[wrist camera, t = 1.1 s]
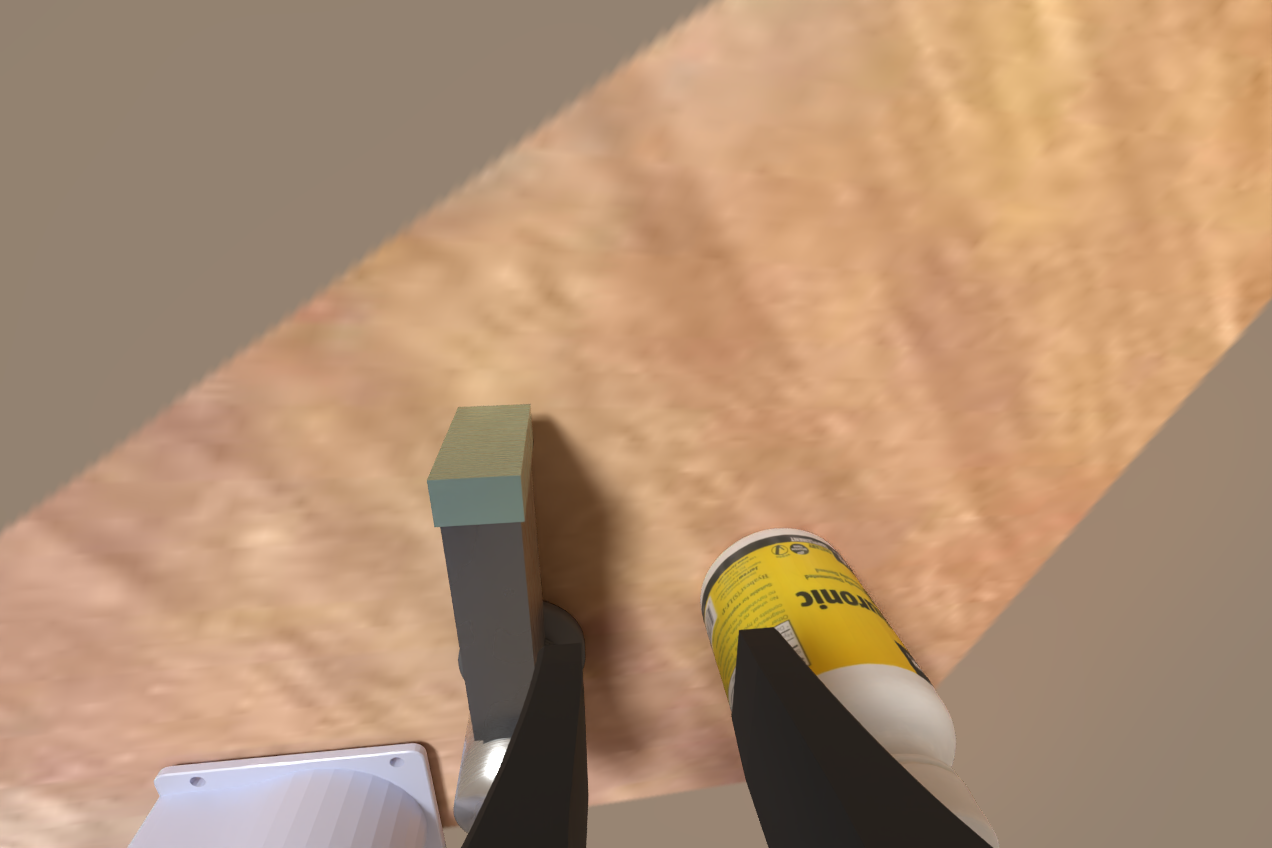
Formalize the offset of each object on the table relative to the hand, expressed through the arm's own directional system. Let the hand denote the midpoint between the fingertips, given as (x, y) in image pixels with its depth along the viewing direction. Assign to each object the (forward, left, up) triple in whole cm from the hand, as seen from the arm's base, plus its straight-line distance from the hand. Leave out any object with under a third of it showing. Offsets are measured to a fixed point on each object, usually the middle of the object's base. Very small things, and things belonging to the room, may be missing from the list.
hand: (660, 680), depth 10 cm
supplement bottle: (+5, -6, -10) cm, 13 cm away
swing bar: (-3, -4, -8) cm, 10 cm away
